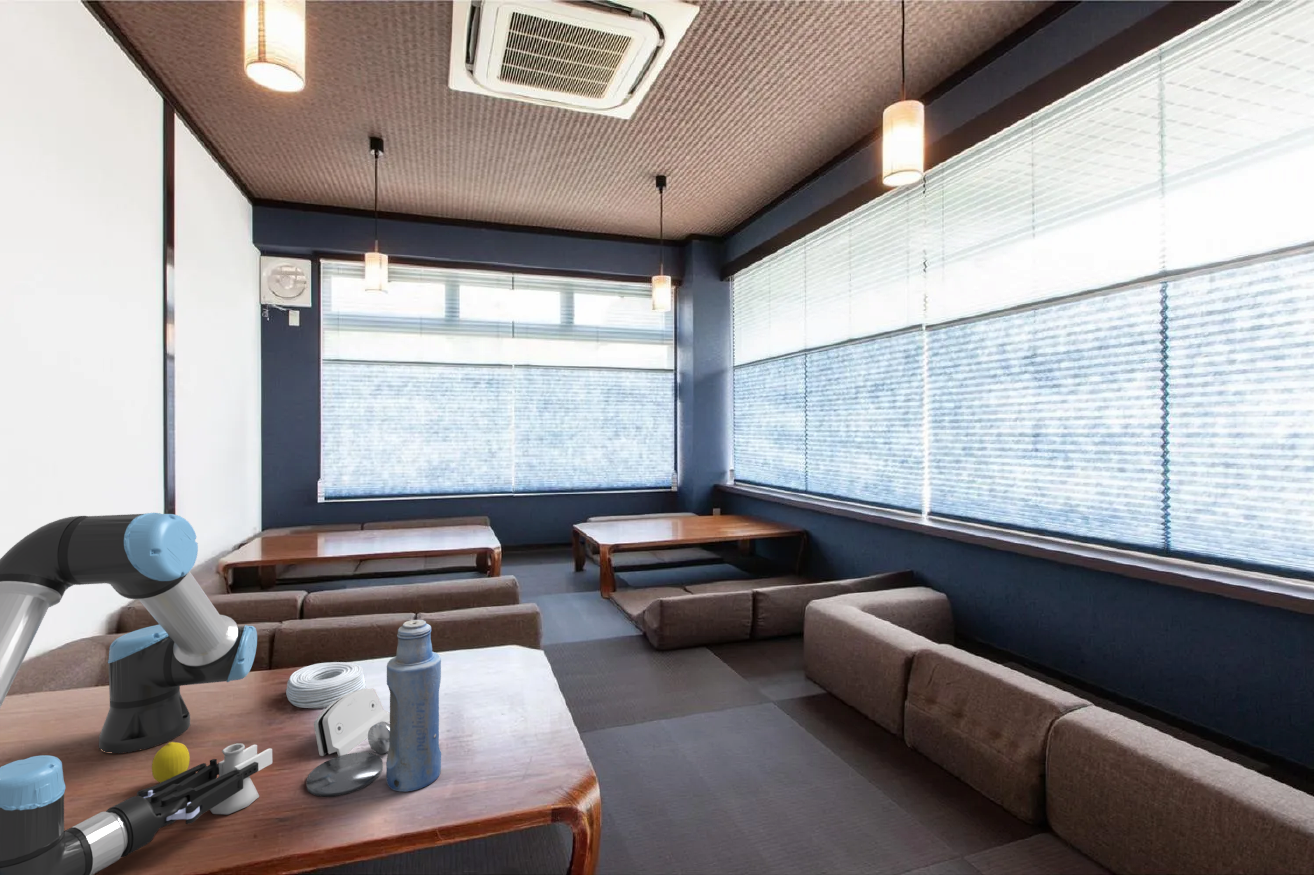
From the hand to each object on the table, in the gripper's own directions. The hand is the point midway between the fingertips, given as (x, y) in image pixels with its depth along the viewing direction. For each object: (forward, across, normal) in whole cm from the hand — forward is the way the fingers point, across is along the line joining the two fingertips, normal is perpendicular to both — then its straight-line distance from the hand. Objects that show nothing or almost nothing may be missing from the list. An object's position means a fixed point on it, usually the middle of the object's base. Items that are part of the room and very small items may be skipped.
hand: (263, 753), depth 111 cm
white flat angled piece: (+19, +1, -6) cm, 21 cm away
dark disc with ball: (+14, +12, -6) cm, 19 cm away
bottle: (+12, +25, -6) cm, 28 cm away
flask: (-5, 0, -6) cm, 8 cm away
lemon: (-5, -17, -6) cm, 19 cm away
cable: (+33, -22, -7) cm, 40 cm away
